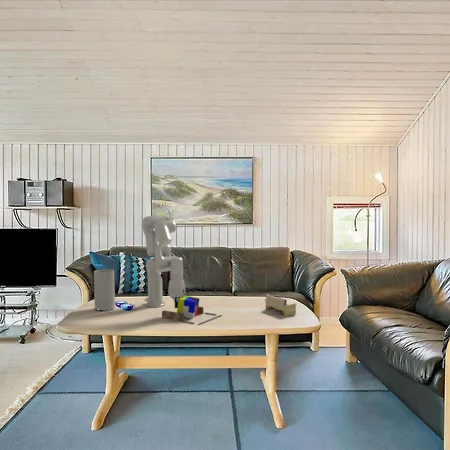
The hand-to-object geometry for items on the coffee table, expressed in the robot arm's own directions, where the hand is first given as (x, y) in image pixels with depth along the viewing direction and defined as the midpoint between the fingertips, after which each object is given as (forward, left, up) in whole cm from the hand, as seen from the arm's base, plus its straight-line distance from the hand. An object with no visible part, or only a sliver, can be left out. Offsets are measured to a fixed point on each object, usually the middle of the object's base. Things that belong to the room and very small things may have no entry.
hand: (177, 307), depth 244 cm
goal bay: (+19, 0, -4) cm, 19 cm away
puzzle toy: (+7, 0, -4) cm, 8 cm away
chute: (+4, 0, -4) cm, 6 cm away
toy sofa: (+50, +39, -5) cm, 64 cm away
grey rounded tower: (-50, -13, -5) cm, 52 cm away
